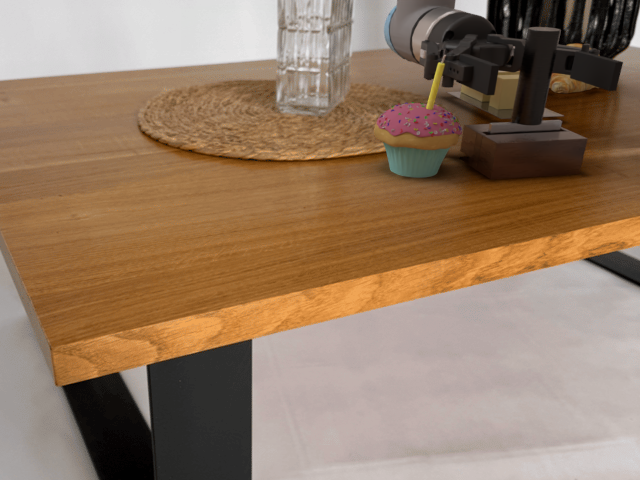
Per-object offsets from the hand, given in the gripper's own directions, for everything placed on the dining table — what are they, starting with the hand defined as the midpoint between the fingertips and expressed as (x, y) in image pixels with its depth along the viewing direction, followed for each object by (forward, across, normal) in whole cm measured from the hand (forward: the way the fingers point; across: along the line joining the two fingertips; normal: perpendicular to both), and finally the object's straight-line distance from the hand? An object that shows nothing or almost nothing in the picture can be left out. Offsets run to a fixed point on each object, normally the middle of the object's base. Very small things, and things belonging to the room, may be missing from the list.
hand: (556, 78), depth 65 cm
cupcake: (-4, +12, -10) cm, 16 cm away
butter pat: (-25, -11, -9) cm, 29 cm away
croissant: (-40, -30, -10) cm, 51 cm away
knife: (-3, 0, -10) cm, 11 cm away
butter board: (-27, -11, -10) cm, 31 cm away
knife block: (-3, 0, -10) cm, 11 cm away
